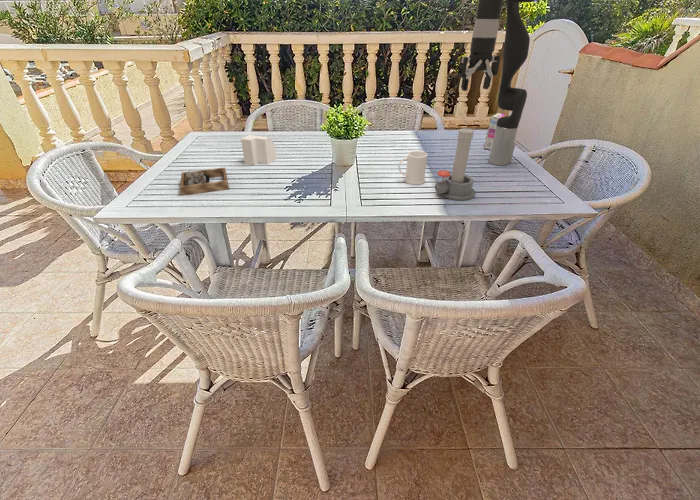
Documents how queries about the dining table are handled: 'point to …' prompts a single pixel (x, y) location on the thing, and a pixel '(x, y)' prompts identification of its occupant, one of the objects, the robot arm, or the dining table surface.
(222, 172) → the parts corral
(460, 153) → the pipe
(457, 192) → the valve socket
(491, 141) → the candy bar box
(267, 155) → the corner bracket
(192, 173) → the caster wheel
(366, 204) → the dining table surface
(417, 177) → the mug
